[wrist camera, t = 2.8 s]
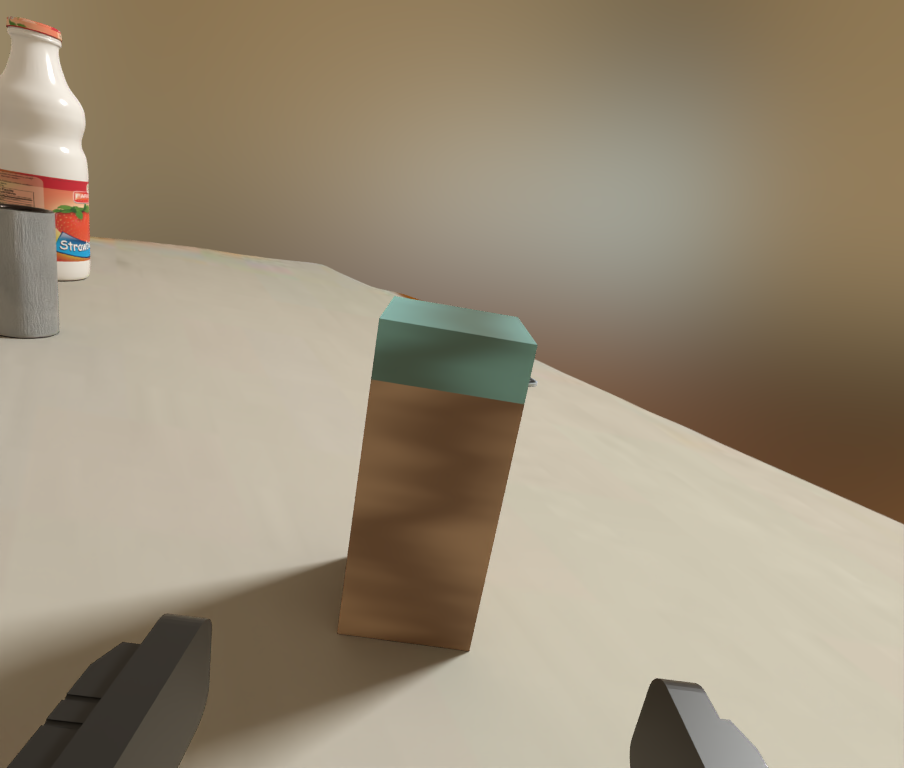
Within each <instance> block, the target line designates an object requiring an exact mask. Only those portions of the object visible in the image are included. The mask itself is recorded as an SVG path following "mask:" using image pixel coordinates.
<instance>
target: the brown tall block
mask: <svg viewBox="0 0 904 768" xmlns="http://www.w3.org/2000/svg"><path fill="white" fill-rule="evenodd" d="M536 349H537V344H536V342H535V341H534V339H533V338H532V337H531V335H530V334H529V332H528V331H527V330H526V328H525V327H524V325H523V324H522V323H521V321H520V320H519V318H518V317H513V316H507V315H501V314H495V313H489V312H484V311H478V310H472V309H466V308H460V307H455V306H449V305H443V304H437V303H431V302H425V301H419V300H414V299H408V298H402V297H396V296H394V298H393V299H392V301H391V302H390V304H389V305H388V307H387V308H386V309H385V311H384V312H383V314H382V315H381V317H380V318H379V325H378V332H377V340H376V347H375V355H374V362H373V370H372V377H371V384H370V392H369V399H368V407H367V414H366V422H365V429H364V437H363V444H362V451H361V459H360V466H359V474H358V481H357V489H356V496H355V504H354V511H353V518H352V526H351V533H350V541H349V548H348V556H347V563H346V571H345V578H344V585H343V593H342V600H341V608H340V615H339V623H338V630H337V634H345V635H352V636H360V637H367V638H375V639H382V640H390V641H397V642H405V643H412V644H420V645H427V646H434V647H442V648H449V649H457V650H464V651H469V650H470V645H471V641H472V636H473V632H474V627H475V623H476V618H477V614H478V609H479V605H480V600H481V596H482V591H483V587H484V582H485V578H486V573H487V569H488V564H489V560H490V555H491V551H492V546H493V542H494V538H495V533H496V529H497V524H498V520H499V515H500V511H501V506H502V502H503V497H504V493H505V488H506V484H507V479H508V475H509V470H510V466H511V461H512V457H513V452H514V448H515V443H516V439H517V434H518V430H519V425H520V421H521V417H522V412H523V408H524V403H525V399H526V394H527V390H528V385H529V381H530V376H531V372H532V367H533V363H534V358H535V354H536Z"/></svg>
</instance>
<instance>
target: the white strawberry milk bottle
mask: <svg viewBox="0 0 904 768" xmlns="http://www.w3.org/2000/svg"><path fill="white" fill-rule="evenodd" d="M6 26H7V29H8V31H7V32H8V34H9V35H10V36H11V52H10V56H9V59H8V62H7V65H6V67H5V70H4V71H3V73H2V74H1V75H0V203H4V204H14V205H22V206H30V207H36V208H42V209H47V210H51V211H53V212H54V213H55V230H56V254H57V278H58V280H60V281H65V280H80V279H85V278H87V277H88V276H89V274H90V235H89V234H90V233H89V191H88V166H87V160H86V157H85V154H84V152H83V150H82V146H81V141H82V137H83V134H84V130H85V123H86V122H85V114H84V110H83V108H82V106H81V104H80V103H79V101H78V100H77V98H76V97H75V96H74V94H73V93H72V92H71V90H70V89H69V87H68V85H67V82H66V80H65V77H64V75H63V72H62V69H61V65H60V60H59V48H61V47H62V46H61V42H62V38H61V33H60V31H58V30H57V29H55V28H52V27H50V26H47V25H45V24H42V23H38V22H35V21H32V20H28V19H24V18H19V17H7V25H6Z"/></svg>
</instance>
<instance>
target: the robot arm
mask: <svg viewBox="0 0 904 768" xmlns="http://www.w3.org/2000/svg"><path fill="white" fill-rule="evenodd" d="M211 635H212V624H211V620H210V619H205V618H198V617H190V616H182V615H174V614H165V615H163V616H162V617H161V618H160V619H159V620H158V621H157V623H156V624H155V626H154V627H153V628H152V630H151V631H150V632H149V634H148V635H147V636H146V638H145V639H144V641H143V642H142V643H141V644H134V643H126V642H122V643H121V644H119V645H118V646H116V647H115V648H113V649H112V650H111V651H109V652H108V653H106V654H105V655H103V656H102V657H101V658H99V659H98V660H96V661H95V662H94V663H92V664H91V665H90V666H89V667H88V668H87V669H86V671H85V672H84V673H83V674H82V676H81V677H80V678H79V679H78V681H77V682H76V683H75V684H74V685H73V687H72V688H71V689H70V690H69V692H68V693H67V695H66V698H65V700H61V702H60V703H59V704H58V705H57V706H56V708H55V709H54V710H53V711H52V713H51V714H50V715H49V716H48V718H47V719H46V723H45V724H44V726H42V725H41V726H40V727H39V729H38V730H37V731H36V732H35V734H34V735H33V736H32V737H31V739H30V740H29V741H28V742H27V744H26V745H25V746H24V747H23V748H22V750H21V751H20V752H19V753H18V755H17V756H16V757H15V758H14V760H13V761H12V762H11V763H10V764H9V766H8V767H7V768H178V766H179V764H180V762H181V760H182V758H183V756H184V754H185V752H186V750H187V748H188V746H189V744H190V742H191V740H192V738H193V736H194V734H195V732H196V730H197V727H198V725H199V723H200V720H201V717H202V715H203V712H204V708H205V705H206V701H207V696H208V691H209V677H210V656H211ZM630 768H768V766H767V764H766V763H765V761H764V759H763V758H762V756H761V754H760V753H759V751H758V749H757V748H756V747H755V746H754V745H753V744H752V743H751V742H750V741H749V740H748V739H747V738H746V736H745V735H744V734H743V733H742V732H741V731H740V730H739V729H738V728H737V727H736V726H735V725H734V724H733V723H732V722H731V721H730V720H725V719H720V718H719V716H718V714H717V712H716V710H715V709H714V707H713V705H712V703H711V701H710V700H709V698H708V696H707V694H706V692H705V691H704V689H703V688H702V687H701V686H700V685H698V684H696V683H690V682H682V681H674V680H666V679H658V678H656V679H654V680H653V681H652V682H651V684H650V686H649V689H648V692H647V695H646V698H645V701H644V704H643V707H642V710H641V713H640V716H639V719H638V722H637V725H636V728H635V731H634V734H633V737H632V740H631V745H630Z"/></svg>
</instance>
